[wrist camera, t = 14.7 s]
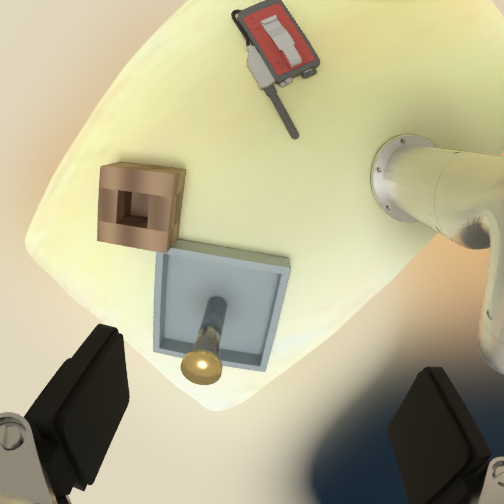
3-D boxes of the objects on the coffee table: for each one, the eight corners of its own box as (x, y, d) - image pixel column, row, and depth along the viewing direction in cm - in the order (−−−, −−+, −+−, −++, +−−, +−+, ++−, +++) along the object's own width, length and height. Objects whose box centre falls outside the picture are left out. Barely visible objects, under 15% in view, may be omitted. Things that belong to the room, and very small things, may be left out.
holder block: (185, 169, 42) (174, 174, 36) (178, 239, 45) (166, 253, 40) (119, 161, 42) (100, 166, 36) (115, 228, 45) (97, 240, 40)
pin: (234, 294, 47) (223, 358, 33) (230, 320, 49) (219, 387, 35) (203, 289, 47) (181, 350, 33) (200, 315, 49) (179, 380, 35)
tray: (288, 257, 46) (290, 268, 42) (265, 357, 52) (265, 371, 48) (164, 236, 45) (156, 245, 42) (159, 338, 51) (153, 351, 48)
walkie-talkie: (218, 22, 35) (288, 142, 41) (213, 11, 31) (291, 142, 37) (275, -3, 34) (345, 115, 39) (276, -16, 29) (354, 113, 35)
